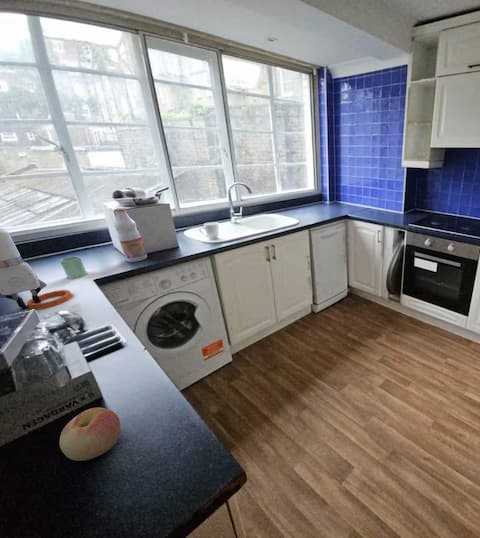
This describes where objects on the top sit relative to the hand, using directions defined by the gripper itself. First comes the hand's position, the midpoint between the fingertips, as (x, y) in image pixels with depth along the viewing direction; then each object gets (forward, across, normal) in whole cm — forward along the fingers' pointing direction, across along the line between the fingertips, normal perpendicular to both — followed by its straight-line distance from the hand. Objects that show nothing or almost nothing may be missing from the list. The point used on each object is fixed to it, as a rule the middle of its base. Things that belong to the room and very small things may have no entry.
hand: (31, 305), depth 115 cm
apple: (+1, +14, -96) cm, 97 cm away
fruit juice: (+1, +40, +32) cm, 51 cm away
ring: (0, +6, 0) cm, 6 cm away
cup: (0, +15, +27) cm, 31 cm away
